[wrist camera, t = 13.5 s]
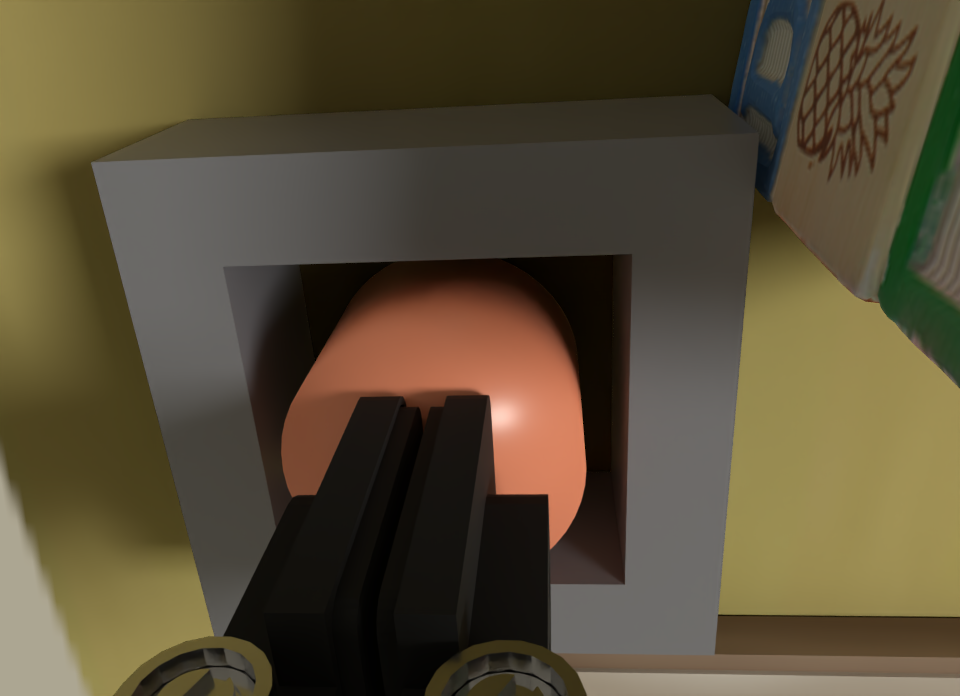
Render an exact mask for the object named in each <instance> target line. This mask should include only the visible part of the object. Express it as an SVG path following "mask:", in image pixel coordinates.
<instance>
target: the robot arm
mask: <svg viewBox="0 0 960 696" xmlns="http://www.w3.org/2000/svg"><path fill="white" fill-rule="evenodd" d="M113 696H587V694H586V691H585V689H584V687H583V684H582V682H581V680H580V678H579V676H578V673H577V672H576V671H575V670H574V669H573V668H572V667H571V666H570V665H569V664H568V663H567V662H566V661H565V660H564V659H563V658H562V657H561V656H559V655H557V654H555V653H554V652H552V651H551V573H550V530H549V498H548V494H496V484H495V467H494V450H493V433H492V416H491V403H490V397H489V395H451V396H447V397H446V400H445V404H444V407H431V408H430V410H429V414H428V417H427V421H426V425H425V428H424V432H423V426H422V417H421V411H420V408H419V407H407V406H406V402H405V399H404V397H403V396H384V397H360V398H359V400H358V402H357V404H356V406H355V409H354V411H353V413H352V415H351V417H350V420H349V422H348V424H347V426H346V429H345V431H344V433H343V435H342V438H341V440H340V442H339V444H338V447H337V449H336V451H335V453H334V455H333V458H332V460H331V462H330V464H329V467H328V469H327V471H326V473H325V476H324V478H323V480H322V482H321V485H320V487H319V489H318V491H317V494H316V495H297V496H295V497H293V498H292V499H291V501H290V502H289V504H288V505H287V507H286V509H285V511H284V513H283V515H282V517H281V519H280V521H279V523H278V525H277V528H276V530H275V532H274V534H273V536H272V538H271V540H270V542H269V544H268V546H267V548H266V550H265V552H264V554H263V556H262V558H261V560H260V562H259V564H258V566H257V568H256V570H255V572H254V574H253V576H252V578H251V580H250V582H249V584H248V586H247V588H246V590H245V593H244V595H243V597H242V599H241V601H240V603H239V605H238V607H237V609H236V611H235V613H234V615H233V617H232V619H231V621H230V623H229V625H228V627H227V629H226V631H225V633H224V635H223V637H217V636H209V637H204V638H199V639H195V640H190V641H185V642H183V643H181V644H178V645H176V646H174V647H171V648H169V649H166V650H164V651H162V652H160V653H159V654H157V655H156V656H154V657H153V658H151V659H150V660H148V661H147V662H145V663H144V664H142V665H141V666H140V667H139V668H138V669H137V670H136V671H135V672H134V673H133V674H132V675H131V676H130V677H129V678H128V679H127V680H126V681H125V682H124V683H123V684H122V685H121V686H120V688H119V689H118V690H117V691H116V693H115V694H114V695H113Z"/></svg>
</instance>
